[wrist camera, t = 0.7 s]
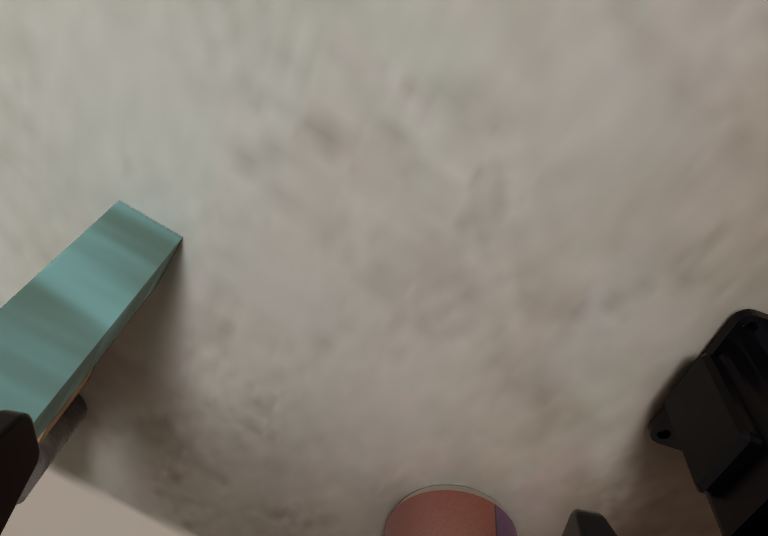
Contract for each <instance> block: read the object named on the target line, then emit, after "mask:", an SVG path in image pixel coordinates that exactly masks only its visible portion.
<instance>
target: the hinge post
mask: <svg viewBox="0 0 768 536" xmlns="http://www.w3.org/2000/svg"><path fill="white" fill-rule="evenodd" d="M85 414H86V405H85V403H84V401H83V399H82V398H81V397H80V395H79V394H77V396H76V397H75V398H74V400H73V401H72V402H71V404H70V405H69V406H68V407H67V409H66V410H65V411H64V413H63V414H62V415H61V417H60V418H59V419H58V421H57V422H56V423H55V425H54V426H53V427H52V428H51V430H50V431H49V432H48V434H47V435H46V436H45V438H44V439H43V440H42V442H41V443H40V444H39V448H40V455H39V460H38V463H37V465H36V467H35V469H34V471H33V473H32V475H31V477H30V479H29V481H28V483H27V485H26V487H25V488H24V490H23V492H22V494H21V496H20V498H19V500H18V502H17V504H19V503H22V502H23V501H24V500H25V498H26V497H27V496H28V494H29V493H30V492H31V490H32V489H33V488H34V486H35V485H36V483H37V482H38V481H39V479H40V478H41V476H42V475H43V473H44V472H45V471H46V469H47V468H48V467H49V465H50V464H51V462H52V461H53V460H54V458H55V457H56V455H57V454H58V453H59V451H60V450H61V449H62V447H63V446H64V444H65V443H66V442H67V440H68V439H69V437H70V436H71V435H72V433H73V432H74V430H75V429H76V428H77V426H78V425H79V423H80V422H81V421H82V419H83V418H84V416H85ZM17 504H16V505H17Z"/></svg>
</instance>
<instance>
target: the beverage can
mask: <svg viewBox="0 0 768 536" xmlns="http://www.w3.org/2000/svg"><path fill="white" fill-rule="evenodd" d="M384 536H517V532H516V528H515V526H514V524H513V522H512V520H511V519H510V518H509V516H508V515H507V514H506V512H505V511H504V510H503V509H502V507H501V506H500V505H499V504H498V503H497V502H495V501H494V500H493V499H491V498H490V497H488V496H487V495H485V494H483V493H481V492H479V491H476V490H474V489H470V488H467V487H462V486H455V485H438V486H431V487H427V488H423V489H420V490H418V491H416V492H414V493H412V494H410V495H409V496H407V497H406V498H405V499H403V500H402V501H401V502H400V503H399V504H398V505H397V506H396V508H395V509H394V510H393V511H392V512H391V514H390V515H389V517H388V519H387V522H386V527H385V535H384Z"/></svg>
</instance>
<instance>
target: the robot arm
mask: <svg viewBox="0 0 768 536" xmlns="http://www.w3.org/2000/svg"><path fill="white" fill-rule="evenodd" d="M747 322H753V323H752V324H751V325H750V326H746V327H743V325H744V324H746V323H747ZM664 429H665V431H662V432H661V431H660V430H664ZM648 431H649V434H650V437H651V438H652V440H653V441H655V442H657V443H659V444H663V445H666V446H669V447H672V448H675V449H678V450H681V451H683V454H684V457H685V459H686V462H687V465H688V467H689V470H690V472H691V475H692V478H693V480H694V483H695V485H696V488H697V490H698V491H699V492H700V493H704V494H706V495H707V498H708V500H709V503H710V505H711V508H712V511H713V513H714V516H715V518H716V521H717V523H718V526H719V528H720V531H721V533H722V536H768V314H765V313H762V312H759V311H757V310H752V309H745V310H741V311H739V312H737V313H736V314H735V315H734V316H732V318H731V319H730V320H729V322H728V323H727V324H726V325H725V327H724V328H723V329H722V331H721V332H720V333H719V334H718V336H717V337H716V338H715V340H714V341H713V342H712V343H711V345H710V346H709V347H708V349H707V350H706V351H705V352H704V354H703V355H702V356H700V357H699V358H698V359H697V361H696V362H695V363H694V364H693V366H692V367H691V368H690V370H689V371H688V372H687V374H686V375H685V376H684V377H683V379H682V380H681V381H680V383H679V384H678V385H677V386H676V388H675V389H674V390H673V392H672V393H671V394H670V395H669V397H668V398H667V399H666V401H665V403H664V405H663V406H662V408H661V409H660V410H659V411H658V413H657V414H656V415H655V417H654V418H653V419H652V420H651V422H650V423H649V425H648ZM39 455H40V448H39V444H38V440H37V436H36V432H35V428H34V424H33V420H32V417H31V416H30V415H29V414H27V413H24V412H18V411H12V410H1V411H0V535H1V533H2V531H3V529H4V527H5V525H6V523H7V521H8V519H9V517H10V515H11V514H12V512H13V510H14V508H15V506H16V504H17V502H18V500H19V498H20V496H21V494H22V492H23V490H24V488H25V487H26V485H27V483H28V481H29V479H30V477H31V475H32V473H33V471H34V469H35V467H36V465H37V463H38V460H39ZM562 536H617V535H616V534H615V532H614V531H613V529H612V528H611V526H610V525H609V523H608V522H607V520H606V519H605V518H604V517H603V516H602V515H601V514H600V513H597V512H592V511H586V510H580V509H575V510H573V511H572V513H571V514H570V517H569V519H568V522H567V524H566V527H565V529H564V532H563V534H562Z"/></svg>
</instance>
